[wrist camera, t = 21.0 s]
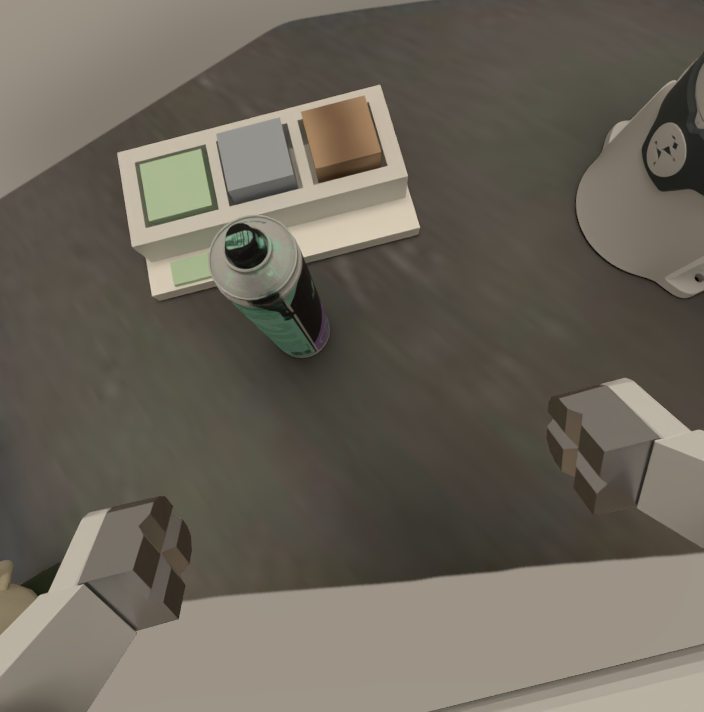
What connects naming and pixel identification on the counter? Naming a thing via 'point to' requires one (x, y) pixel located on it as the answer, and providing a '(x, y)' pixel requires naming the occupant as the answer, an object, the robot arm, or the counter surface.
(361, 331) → the counter surface
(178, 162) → the key green
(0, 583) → the character mug
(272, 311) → the spray can
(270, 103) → the counter surface
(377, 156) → the key walnut
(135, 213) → the keypad
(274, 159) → the key grey
